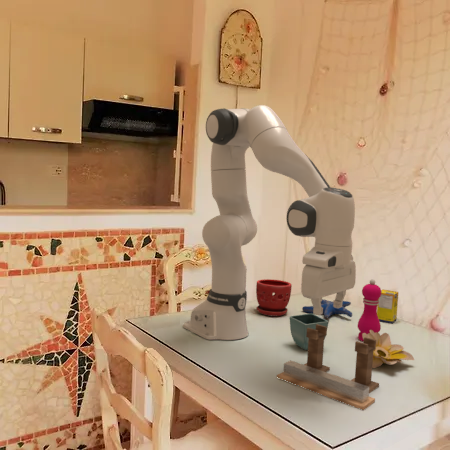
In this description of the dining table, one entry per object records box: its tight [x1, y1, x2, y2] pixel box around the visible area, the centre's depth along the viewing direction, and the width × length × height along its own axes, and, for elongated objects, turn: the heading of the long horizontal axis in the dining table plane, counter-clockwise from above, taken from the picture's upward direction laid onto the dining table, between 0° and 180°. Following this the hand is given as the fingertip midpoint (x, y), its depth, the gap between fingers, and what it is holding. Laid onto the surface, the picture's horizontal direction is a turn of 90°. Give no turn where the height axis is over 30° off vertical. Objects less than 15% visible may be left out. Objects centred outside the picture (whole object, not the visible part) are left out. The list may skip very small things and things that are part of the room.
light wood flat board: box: [276, 371, 376, 411], centre depth 122 cm, size 24×6×1 cm, turn 49°
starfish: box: [301, 298, 353, 318], centre depth 189 cm, size 19×19×5 cm
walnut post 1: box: [303, 324, 331, 373], centre depth 133 cm, size 6×6×12 cm
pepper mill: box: [357, 279, 382, 343], centre depth 160 cm, size 7×7×20 cm
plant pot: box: [255, 278, 293, 317], centre depth 186 cm, size 13×13×12 cm
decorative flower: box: [362, 330, 415, 369], centre depth 139 cm, size 15×11×10 cm
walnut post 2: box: [349, 337, 380, 394], centre depth 124 cm, size 6×6×12 cm
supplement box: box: [377, 289, 399, 324], centre depth 183 cm, size 6×6×11 cm
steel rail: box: [283, 360, 370, 403], centre depth 122 cm, size 22×3×3 cm, turn 49°
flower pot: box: [289, 313, 329, 351], centre depth 151 cm, size 9×9×9 cm
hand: (327, 310), depth 121 cm, fingers open, 8 cm apart
